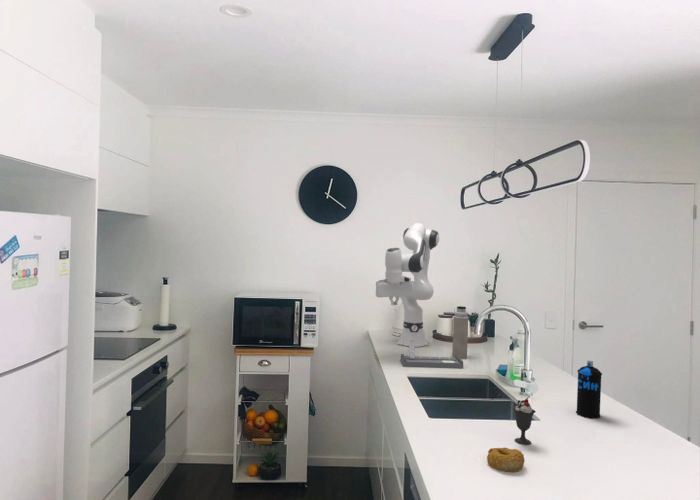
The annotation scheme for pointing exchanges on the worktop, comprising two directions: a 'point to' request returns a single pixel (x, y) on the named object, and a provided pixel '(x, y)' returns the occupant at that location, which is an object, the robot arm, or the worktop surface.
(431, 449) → the worktop surface
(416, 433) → the worktop surface
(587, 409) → the aerosol can
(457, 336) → the thermos bottle
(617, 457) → the worktop surface
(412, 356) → the fader knob
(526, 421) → the sundae
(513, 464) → the bagel
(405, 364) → the console
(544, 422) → the worktop surface
